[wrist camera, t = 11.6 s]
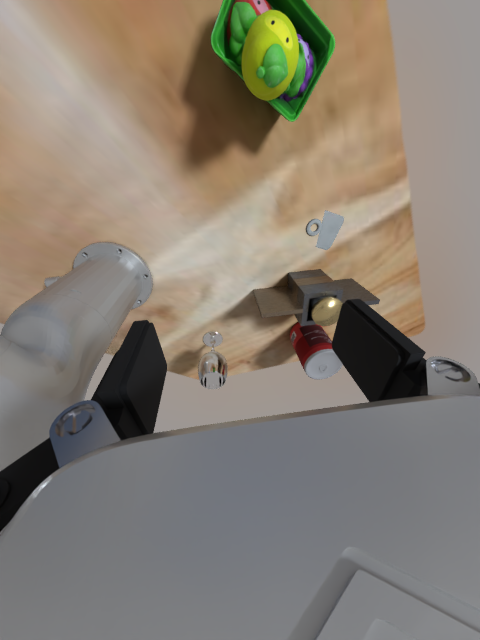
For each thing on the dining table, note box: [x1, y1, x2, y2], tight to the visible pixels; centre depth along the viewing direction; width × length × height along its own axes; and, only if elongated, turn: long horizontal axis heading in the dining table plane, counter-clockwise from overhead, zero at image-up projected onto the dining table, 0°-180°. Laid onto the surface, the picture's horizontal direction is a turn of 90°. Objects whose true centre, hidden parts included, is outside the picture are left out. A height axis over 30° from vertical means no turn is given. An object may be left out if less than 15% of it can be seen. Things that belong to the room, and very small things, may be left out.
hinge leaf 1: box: [253, 275, 334, 318], centre depth 40 cm, size 13×6×9 cm, turn 94°
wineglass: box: [198, 332, 228, 389], centre depth 44 cm, size 6×6×12 cm
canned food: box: [290, 322, 343, 379], centre depth 46 cm, size 8×8×11 cm
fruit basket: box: [211, 0, 335, 122], centre depth 22 cm, size 11×9×11 cm
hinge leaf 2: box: [288, 269, 380, 326], centre depth 40 cm, size 13×6×9 cm, turn 94°
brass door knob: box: [309, 296, 343, 326], centre depth 39 cm, size 5×5×10 cm
